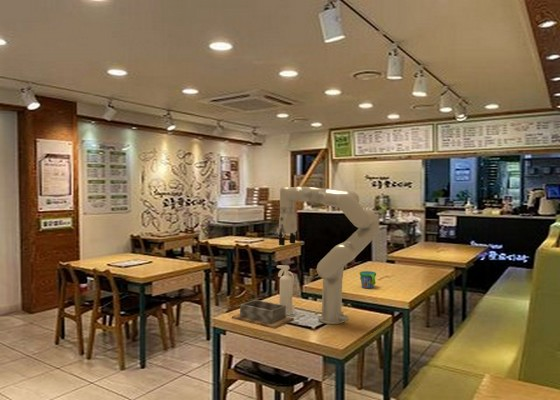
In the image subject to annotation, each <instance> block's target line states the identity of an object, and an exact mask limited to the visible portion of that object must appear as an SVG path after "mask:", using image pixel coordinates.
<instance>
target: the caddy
mask: <svg viewBox="0 0 560 400" xmlns="http://www.w3.org/2000/svg"><path fill="white" fill-rule="evenodd" d="M239 306H240V307H239V310H240V311H239V313H238V314H234V315H232V316H231V319H233V320H237V321H242V322H246V323H251V324H255V325H258V326H263V327H266V328H271V329H278V328H279V327H282V326H284V325H286V324H289V323H291V322H292V321H295V319H294V318H295V317H289V316H287V315H286V306H284V305H279V303H274V302H269V301H264V300H259V299H253V300H250V301H247V302H244V303H241V304H239Z"/></svg>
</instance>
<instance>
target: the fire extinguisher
mask: <svg viewBox="0 0 560 400" xmlns="http://www.w3.org/2000/svg"><path fill="white" fill-rule="evenodd" d="M276 268H277V269H280V270H279V271H278V274H277V277H278V278H279V301H278V302H279V303H278V304H279V305H284V306H286V316H291V315H293V314H297V310H296V309H295V305H294V304H293V293H294V292H293V291H294V283H295V275H294V273H293V272H292V271H289V270H290V269H291V268H290V265H276ZM289 274H290V275H291V276H290V275H289Z"/></svg>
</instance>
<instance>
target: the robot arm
mask: <svg viewBox="0 0 560 400" xmlns="http://www.w3.org/2000/svg"><path fill="white" fill-rule="evenodd" d="M295 202H299V203H300V202H308V203H309V202H310V203H311V202H312V203H319V204H322V205H324V206H326V207H334V208H339V209H340V210H341V212H342V213H343V214H344V215H345V217H346V218H347V219H348V220H349V221H350V223H352V225H353V226H354V227H356V228H357V229H356V231H354V232H353V233H352V234H351V235H350V236H349V237H348V238H347V239H346V240H345V241H343V242H341V243H339V244H337V245H335V246H334V247H333V248H331V249H330V251H329V252H327V254H326V255H325V256H324V257H323V258H322V259H320V261H319V262H318V263H317V265H316V273H317V274H318V276H319V277H320V278H321V279H322V290H321V291H322V293H321V298H322V300H321V315H319V317H318V321H319V322H320V323H323V324H328V325H340V324H344V322H345V321H347V322H348V321H349V315H345V314H344V311H342V307H343V306H342V305H343V304H342V303H343V301H342V300H343V299H342V298H343V297H342V296H343V277H344V268H345V267H346V265H347V264H348V263H350V262H352V261H353V260H354V259H356V257H357V256H358V255H359V254H360V253H361V252H362V251H363V250H364V249H365V248H366V247H367V246H368V245H369V244H370V243H371V242H372V241H373V240H374V238H375V237H376V235H377V233H378V230H379V218H378V216H377V214H376V213H375V212H374V211H373V210H372V209H371V210H370V209H364V208H363V206H362V205H361V204H360V197H359V195H358V194H357V193H356V192H355V191H351V190H344V189H335V188H320V187H319V188H318V187H311V186H310V187H309V186H295V187H292V186H282V187H281V188H280V189H279V218H278V219H279V220H278V227H277V228H276V233H277V234H276V235H277V237H278V246H282V247H283V246H285V244H286V241H285V240H286V239H285V235H286V234H287V235H288V234H289V243H290V244H296V236H297V230H298V226H297V217H296V211H295V209H296V208H295Z"/></svg>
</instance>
